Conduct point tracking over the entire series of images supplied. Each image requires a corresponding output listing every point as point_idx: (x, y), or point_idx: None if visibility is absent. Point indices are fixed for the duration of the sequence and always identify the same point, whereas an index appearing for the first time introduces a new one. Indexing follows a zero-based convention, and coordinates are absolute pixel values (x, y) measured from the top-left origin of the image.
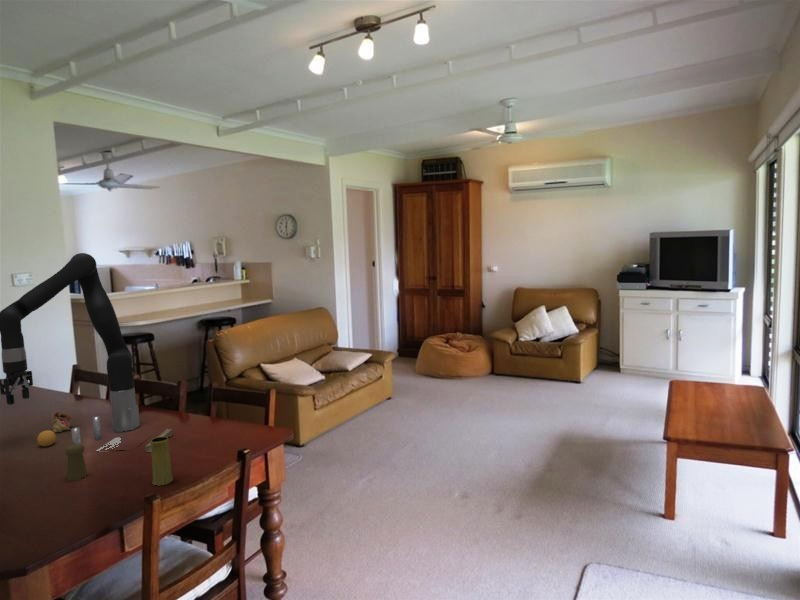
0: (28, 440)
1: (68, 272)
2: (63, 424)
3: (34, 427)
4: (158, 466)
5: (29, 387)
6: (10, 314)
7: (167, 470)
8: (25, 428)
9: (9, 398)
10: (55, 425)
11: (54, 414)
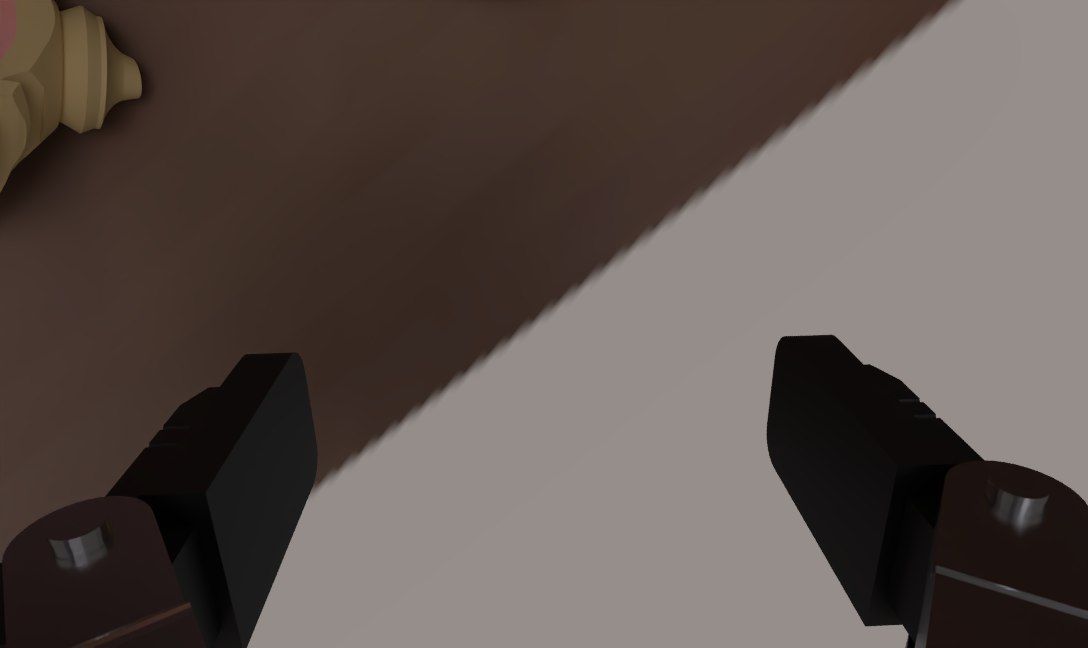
0: (366, 233)
1: None
2: (1, 2)
3: (21, 444)
4: None
5: (56, 519)
6: None
7: None
8: (67, 503)
9: (956, 450)
10: (78, 76)
11: None
